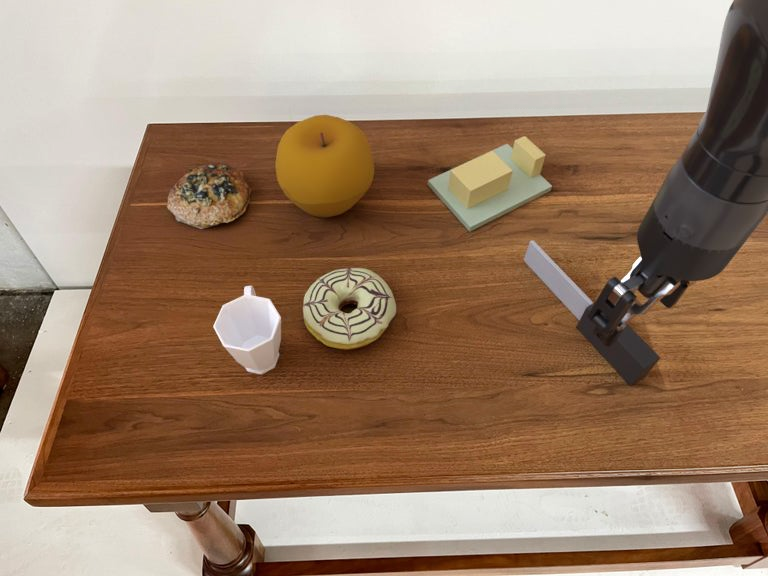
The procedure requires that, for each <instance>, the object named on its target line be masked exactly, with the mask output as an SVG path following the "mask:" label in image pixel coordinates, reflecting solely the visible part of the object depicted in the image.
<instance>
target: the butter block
mask: <svg viewBox="0 0 768 576" xmlns="http://www.w3.org/2000/svg"><path fill="white" fill-rule="evenodd" d="M490 151H491V152H490ZM490 151H488V152H485V153H484V154H481V155H482V156H481V155H479V156H480V157H479V156H477V157H478V158H477V157H474V158H473V159H471V160H469V162H468V161H466V162H467V163H466V162H464V163H465V164H464V163H462V164H463V165H462V164H460V165H458V166H456V168H455V167H453V168H454V169H453V168H451V169H452V170H451V169H450V170H451V171H450V179H449V187H448V188H449V189H450V191H451V192H452V193H453V194H454V195H455V196H456V197H457V198H458V199H459V200H460V201H461V202H462V204H463V205H464V206H465V207H466V208H467V209H468V208H470V207H472V206H474V205H477V204H479V203H481V202H483V201H485V200H487V199H489V198H491V197H493V196H495V195H497V194H499V193H501V192H503V191H505V190H507V189H509V184H510V180H511V176H512V172H513V170H512V169H511V168H510V167H509V166H508V165H507V164H505V163H504V162H503V161H502V160H501V159H500V158H499V157H498V156H497V155H496V154H495V153H494V152H493V151H492V150H490Z"/></svg>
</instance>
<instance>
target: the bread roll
mask: <svg viewBox="0 0 768 576" xmlns="http://www.w3.org/2000/svg"><path fill="white" fill-rule="evenodd" d="M251 194H252V188H251V187H250V184H249V182H248V179H247V178H246V176H245V174H243V172H242V171H240V170H238V169H237V168H235V167H233V166H231V165H229V164H226V163H221V162H214V163H208V164H202V165H199V166H196V167H193V168H192V169H189V170H188V171H186V173H185V174H184V175H182V177H180V179H179V180H177V182H176V183H175V184H174V185H173V186H172V188H170V191H169V193H168V197H167V204H166V208H167V210H168V211H170V213H172V215H173V216H174V218H175V221H176V222H181V223H182V224H185V225H188V226H192V227H193V228H197V229H200V230H203V229H207V228H211V227H214V226H215V227H216V226H218V225H220V224H224V223H226V224H228V223H230V222H233V221H235V220H236V219H238V218H240V217H241V216H242V215H243V214H244V213H245V212H246V211H247V207H248V205H249V203H250V201H251V198H250V196H251Z"/></svg>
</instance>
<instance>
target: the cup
mask: <svg viewBox="0 0 768 576" xmlns="http://www.w3.org/2000/svg"><path fill="white" fill-rule="evenodd" d="M243 288H244V289H243V295H241V296H239V297H237V298H235V299H233V300H231V301H229V302H227V303H224V304H223V305H222V306H221V308H220V310H219V312H218V315H217V317H216V319H215V321H214V324H213V326H212V327H213V329H214V331H215V333H216V335H217V337H218V339H219V340H220V342H221V345H222V346H223V347H224V349H225V350H226V351H227V352H228V353H229V354H230V356H231V357H232V358H233V359H234V360H235V361H236V363H237V364H239V365H241V366H242V367H243V368H245V370H246V372H248V373H252V374H257V375H264V374H265V373H267V372H270V371H272V370H273V369H275V368H276V365H277V363H278V360H279V357H280V352H279V350H280V346H281V341H282V317H281V315H280V313H279V312H278V310H277V309H276V306H275V305H274V303H273V302H272V300H271V298H267V297H262V296H257V293H256V290H255V288H254V286H253V285H252V284H251V285H245V286H244V287H243Z"/></svg>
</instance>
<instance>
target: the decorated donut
mask: <svg viewBox="0 0 768 576" xmlns="http://www.w3.org/2000/svg"><path fill="white" fill-rule="evenodd" d="M302 304H303V305H302V313H303V321H304V325H305V327H306V329H307V330H308V332H309V333H310V334H311V335H312V336H313V337H314V338H316V340H317V341H319V342H320V343H322V344H324V345H325V346H327V347H330V348H334V349H338V350H355V349H358V348H362V347H366V346H368V345H369V344H371V343H373V342H375V341H376V340H377V339H379V338H380V337H381V336H382V335H383V334H384V333H385V331H386V330H387V328H388V327H389V324H390V323H391V321H392V320H393V318H394V317H395V316H396V314H397V303H396V300H395V297H394V294H393V291H392V289H391V288H390V286H389V285H388V284H387V282H386V281H385V280H384V279H383V278H382V277H381V276H380V275H378V274H377V273H376V272H374V271H372V270H371V269H368V268H362V267H348V268H339V269H335V270H332V271H330V272H328V273H326V274H324V275H322V276H320V277H318V278H317V279H316V280H315V282H313V283H312V284H311V285H310V286H309V288H308V290H307V291H306V292H305V294H304V296H303V303H302ZM349 304H354V305H356V306H357V307H356V308H355V309H354V310H352V311H351V312H349V313H347V312H344V311H342V308H343V307H345V306H346V305H349Z"/></svg>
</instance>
